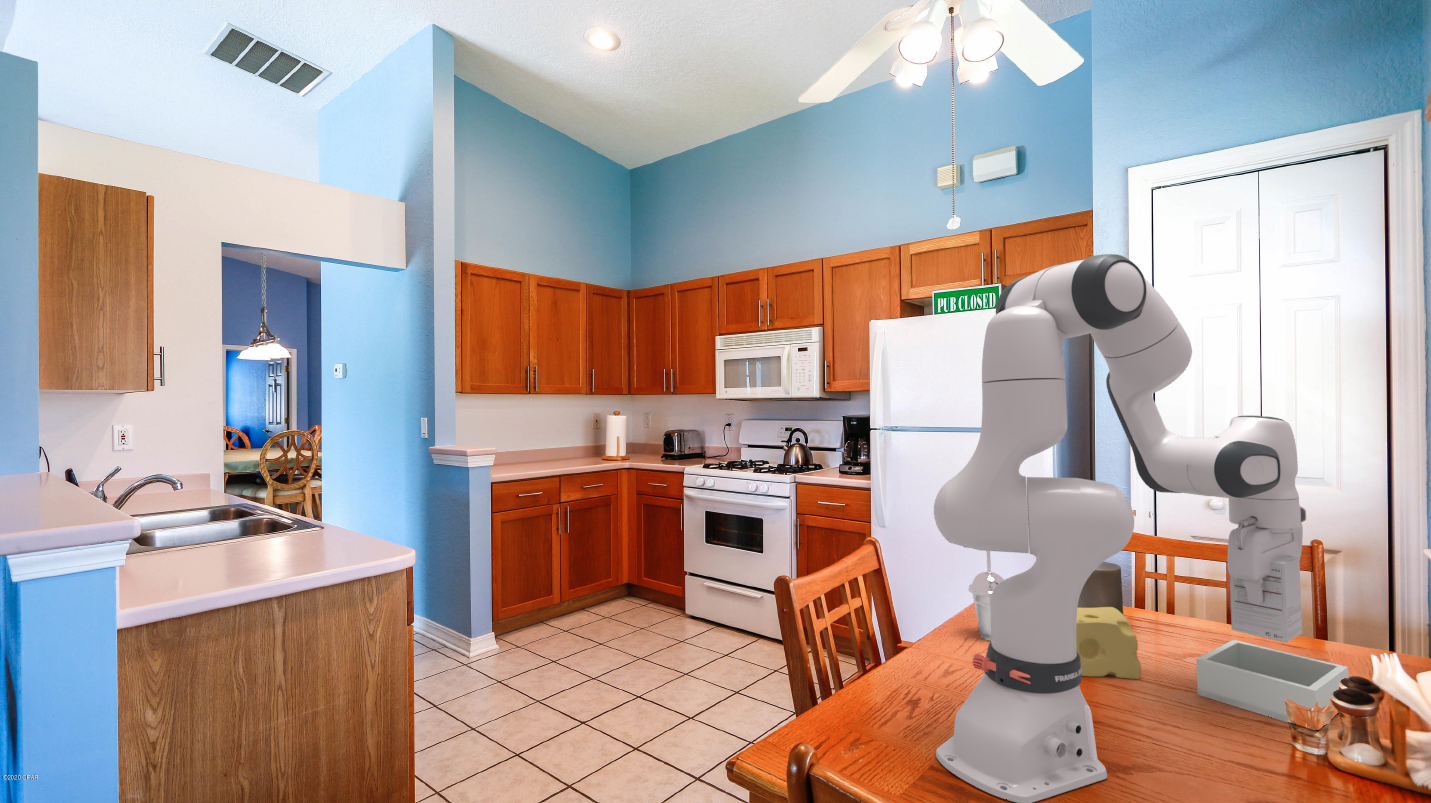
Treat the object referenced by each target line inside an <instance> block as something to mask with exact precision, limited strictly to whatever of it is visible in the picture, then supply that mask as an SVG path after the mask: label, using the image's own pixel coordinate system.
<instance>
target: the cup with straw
mask: <svg viewBox="0 0 1431 803" xmlns="http://www.w3.org/2000/svg"><path fill="white" fill-rule="evenodd" d="M962 547H963V548H965V549H966V548H968V547H964V546H962ZM968 549H969V548H968ZM985 552H986V569H987V570H986V571H983V572H980V573H978V574H976V575H975V577H974V578H973V580H972V582H971V583H970V585H969V586H968V592H969V593H971V594H972V599H973V603H974V606H975V612H976V618H977V625H978V627H977V628H978V631H979V633H980V634H979V637H980V638H981V639H983V640H986V641H990V642H991V620H990V596H991V593H992V591H993V589H994V588H995V587H996V586H997V585H998V584H999V583H1000V582H1002V581H1003V580H1005V579H1004V578H1003V577H1002V576H1001V575H1000V574H998V573H996V572H993V571H992V566H991V565H992V564H991V551H985Z"/></svg>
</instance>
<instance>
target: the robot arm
mask: <svg viewBox="0 0 1431 803" xmlns="http://www.w3.org/2000/svg"><path fill="white" fill-rule="evenodd" d="M1088 334H1090V336H1091V337H1092V340H1093V341H1094V343H1095V345H1096V347H1097V348H1098V350H1099V352H1100V353H1101V355H1102V357H1103V359H1104V361H1105V362H1106V364H1107V366H1108V371H1109V372H1107V375H1106V380H1105V383H1106V384H1105V385H1106V389H1107V393H1108V396H1109V399H1110V401H1111V403H1112V406H1113V408H1114V411H1115V414H1116V416H1117V417H1118V419H1119V422H1120V424H1121V426H1122V427H1121V428H1122V429H1123V431H1124V433H1125V435H1126V437H1127V440H1128V442H1129V445H1130V447H1131V449H1132V450H1131V451H1132V452H1133V458H1134V462H1135V468H1136V471H1137V474H1138V475H1139V477H1140V479H1141V480H1142V481H1143V483H1144V484H1145V485H1146V486H1147V487H1148V488H1150V489H1151V490H1153V491H1155V492H1158V493H1164V494H1165V493H1167V494H1168V493H1171V494H1188V495H1190V494H1191V495H1195V496H1196V495H1197V496H1204V497H1216V498H1225V499H1228V515H1229V516H1228V519H1229V522H1230V523H1231V524H1233V525H1237V527H1236V528H1233V529H1232V530H1230V533H1229V534H1228V541H1227V572H1228V574H1229V577H1230V576H1232V577H1235V578H1240V579H1243V583H1244V585H1245V588H1246V590H1247V598H1248V601H1249V602H1250V603H1254V604H1261V603H1263V602H1264V601H1265V598H1264V597H1265V592H1263V591H1262V586H1261V583H1262V582H1263V580H1262V578H1263V577H1265V576H1267V575H1270V574H1271V561H1273V560H1275V559H1277V558H1280V557H1283V556H1286V555H1290V556H1295V557H1299V561H1300V560H1301V556H1302V552H1303V551H1302V550H1303V537H1304V536H1303V533H1304V531H1303V530H1304V529H1303V523H1304V522H1306V520H1307V510H1306V509H1305V507H1302V506H1301V505H1300V496H1299V492H1298V490H1297V487H1296V478H1297V475H1298V472H1299V471H1298V470H1299V468H1298V466H1299V465H1298V463H1299V462H1298V452H1297V451H1298V450H1297V444H1296V439H1295V435H1294V432H1293V429H1292V426H1291V424H1290V423H1289V422H1288V421H1286V420H1284V419H1282V418H1277V417H1273V416H1263V415H1262V416H1261V415H1238V416H1233V417H1232V418H1231V419H1230V422H1229V426H1228V427H1227V428H1226V429H1225V430H1224V431H1222V432H1220V433H1218V434H1216V435H1213V437H1201V436H1200V437H1198V436H1197V437H1196V436H1195V437H1194V436H1193V437H1192V436H1183V435H1179V434H1176V433H1173V432H1172V431H1170V430H1168V429H1167V428H1166V425H1165V423H1164V421H1163V418H1162V416H1161V414H1160V412H1159V409H1158V407H1157V404H1156V402H1155V400H1154V397H1153V394H1155V393H1157V392H1159V391H1161V390H1163V389H1165V388H1167V387H1168V386H1169V385H1171V384H1172V383H1173V382H1175V381H1176V380H1177V379H1179V377H1180V376H1181V375H1182V374H1183V373H1184V372H1185V371H1186V370H1187V368H1188V366H1189V364H1190V362H1191V359H1192V355H1193V348H1192V344H1191V340H1190V337H1189V336H1188V334H1187V332H1186V330H1185V329H1184V327H1183V326H1182V324H1181V322H1180V321H1179V319H1178V318H1177V316H1176V314H1175V313H1174V312H1173V310H1172V309H1171V307H1170V306H1169V304H1168V303H1167V302H1166V300H1165V299H1164V297H1162V294H1160V293H1159V292H1158V291H1157V290H1156V288H1155V287H1154V286H1153V285H1152V284H1151V283H1150V282H1149V281H1148V280H1147V279H1146V278H1145V276H1144V274H1143V272H1142V271H1141V269H1140V268H1139V267H1138V266H1137V265H1136V263H1134V262H1133V261H1132V260H1130V259H1129V258H1127V257H1125V256H1123V255H1120V254H1117V253H1115V254H1113V253H1109V254H1107V253H1106V254H1105V253H1104V254H1097V255H1092V256H1089V257H1087V258H1085V259H1081V260H1075V261H1072V262H1066V263H1064V264H1055V265H1052V266H1049V267H1046V268H1044V269H1040V270H1038V271H1037V272H1035V273H1032V274H1030V275H1028V276H1027V275H1026V276H1023V277H1020V278H1018V279H1016V280H1014V281H1013V282H1011V283H1010V284H1008V285H1007V286H1006V287H1004V289H1003V290H1002V291H1001V292H1000V295H999V296H998V298H997V302H996V307H995V315H994V316H992V317H991V318H990V320H989V322H987V326H986V329H985V335H984V341H983V348H982V350H983V351H982V360H981V393H982V394H981V396H982V401H981V402H982V404H981V406H982V410H981V411H982V412H981V413H982V414H981V427H980V435H979V438H978V443H977V445H976V448H975V450H974V453H973V454H972V456H971V457H970V459H969V461H968V462H967V463H966V465H965V466H964V467H963V468H962V469H961V470H960V471H959V472H958V473H957V474H956V475H954V476H953V477H952V478H951V479H949V480H948V481H946V482H945V483H944V484H943V485H942V486H941V487H940V489H939V490H938V492H937V494H936V497H935V499H934V503H933V516H934V521H935V525H936V527H937V529H938V530H939V532H940V534H941V535H942V536H943V538H944V539H945V540H946V541H947V542H948V543H950V544H953V545H957V546H961V547H963V546H964V547H963V548H966V547H968V549H973V550H976V551H985V552H986V551H990V552H999V553H1000V552H1003V553H1015V554H1016V553H1019V554H1029V555H1032V556H1034V557H1035V562H1034V563H1033V565H1032V566H1031V567H1030V568H1029V569H1027V570H1025V571H1023V572H1021V573H1017V574H1015V575H1012V576H1010V577H1008V578H1005V579H1004V580H1003V581H1002V582H1000V583H999V584H998V585H997V586H996V587H995V588H994V589H993V591H992V593H991V596H990V620H991V641H990V642H989V643H988V647H987V651H986V652H985V656H983V655H981V654H979V653H975V654H974V656H973V658H972V661H971V662H972V666H973V668H974V669H976V670H981V671H983V672H984V674H983V675H982V677H981V679H980V680H979V682H978V683H977V684H976V686H975V687H974V688H973V690H972V691H971V693H970V694H969V695H968V697H967V698H966V700H965V701H964V703H963V704H962V705H961V707H960V708H959V710H958V711H957V713H956V715H955V719H954V723H953V724H954V725H953V726H954V728H953V735H952V736H951V737H949V738H948V739H947V740H946V741H944V742H943V743H942V744H941V745H940V746H938V747H937V748H936V752H935V757H936V759H937V760H938V761H939V763H940V764H941V765H942V766H943V767H944V768H945V769H947V770H948V771H949V772H951V773H952V774H954V775H955V776H956V777H958V778H960V779H961V780H962V781H964V782H967V783H968V784H970V785H972V786H974V787H975V788H977V789H979V790H982V791H983V792H986V793H988V794H990V795H992V796H995V797H996V798H997V797H998V798H1001V799H1004V800H1006V799H1007V800H1006V801H1009V802H1014V803H1035V802H1039V801H1041V800H1044V799H1048V798H1051V797H1053V796H1057V795H1060V794H1063V793H1066V792H1069V791H1072V790H1076V789H1079V788H1081V787H1082V788H1083V787H1085V786H1088V785H1090V784H1095V783H1097V782H1101V781H1104V780H1106V779H1108V773H1107V768H1106V767H1105V764H1103V763H1102V762H1101V761H1100V760H1099V759H1098V754H1097V753H1098V752H1097V745H1096V738H1095V730H1094V723H1093V715H1092V711H1091V707H1090V706H1089V704H1088V703H1087V700H1086V699H1085V697H1084V694H1083V692H1082V690H1081V686H1080V684H1081V683H1082V681H1083V680H1082V677H1083V676H1081V673H1082V665H1081V661H1080V655H1079V654H1078V652H1077V649H1076V623H1077V607H1078V601H1079V597H1080V594H1081V591H1082V588H1083V586H1084V584H1085V583H1086V581H1087V579H1088V578H1089V576H1090V575H1091V574H1092V572H1093V571H1094V570H1095V569H1096V568H1097V567H1098V566H1099V565H1100V564H1102V563H1103V562H1106V561H1108V559H1110V558H1112V557H1113V556H1115V555H1117V554H1119V553H1120V552H1121V551H1122V550H1123V549H1124V548H1126V546H1127V545H1128V543H1129V542H1130V540H1131V539H1132V536H1133V533H1134V529H1135V516H1134V511H1133V508H1132V505H1131V503H1130V501H1129V500H1128V498H1127V497H1126V496H1125V494H1124V493H1123V491H1121V489H1119V488H1118V487H1117V486H1115V484H1112V483H1106V482H1101V481H1096V480H1093V479H1092V480H1091V479H1086V478H1085V479H1084V478H1079V477H1043V476H1042V477H1040V476H1039V477H1036V476H1034V477H1033V476H1027V477H1026V475H1022V474H1021V473H1020V469H1021V468H1020V467H1021V466H1022V464H1023V462H1024V461H1025V460H1027V459H1029V458H1031V457H1034V456H1035V455H1038V454H1041V453H1042V452H1044V451H1046V450H1048V449H1050V448H1052V447H1053V446H1056V444H1059V443H1060V442H1061V440H1063V438H1065V435H1066V434H1067V430H1068V408H1067V406H1068V404H1067V386H1066V385H1067V383H1066V379H1067V378H1066V367H1065V359H1064V358H1065V357H1064V352H1063V346H1064V344H1065V343H1064V342H1065V340H1066V339H1071V338H1076V337H1080V336H1083V335H1088Z"/></svg>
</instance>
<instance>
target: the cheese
mask: <svg viewBox="0 0 1431 803" xmlns="http://www.w3.org/2000/svg"><path fill="white" fill-rule="evenodd" d="M1132 628H1133V627H1132V625H1131V622H1130V621H1129V619H1128V618H1127V617H1126V616H1125V615H1124V613H1123V614H1122V613H1121V612H1120V611H1119V610H1117V609H1116V608H1114V607H1098V608H1077V623H1076V649H1077V652H1078V654H1079V655H1080V661H1081V665H1082V673H1081V676H1082V677H1106V676H1109V675H1110V676H1114V677H1116V678H1117V679H1128V680H1130V679H1131V680H1140V677H1141V673H1142V672H1141V671H1142V670H1141V668H1142V667H1141V663H1140V662H1141V661H1140V660H1139V658H1138V651H1139V650H1138V649H1139V644H1138V640H1137V636H1136V634H1135V633H1134V631H1133V629H1132Z"/></svg>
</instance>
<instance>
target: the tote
mask: <svg viewBox="0 0 1431 803" xmlns="http://www.w3.org/2000/svg"><path fill="white" fill-rule="evenodd" d="M1195 661H1196V662H1195V663H1196V680H1197V681H1196V683H1197V684H1196V685H1197V686H1196V687H1197V696H1200V697H1204V698H1206V699H1207V698H1208V699H1209V700H1210V699H1211V700H1213V701H1217V702H1220V703H1223V704H1226V705H1230V706H1232V707H1236V708H1239V709H1243V710H1245V711H1249V712H1252V713H1255V714H1258V715H1262V716H1265V717H1268V716H1269V717H1268V718H1271V717H1272V718H1271V719H1275V720H1278V721H1282V722H1285V723H1288V716H1287V712H1286V705H1285V700H1286V699H1288V700H1291V701H1293V702H1295V703H1297V704H1299V705H1301V706H1305V707H1307V708H1314V706H1315V704H1316V702H1318V706H1319V707H1320V708H1323V707H1325V706H1330V695H1331V694H1332V693H1333V692H1334V691H1336V690H1338V689H1339V682H1340V681H1341V680H1342V679H1344V678H1349V667H1348V666H1345V665H1341V664H1337V663H1333V662H1328V661H1326V660H1325V661H1324V660H1321V659H1317V658H1312V657H1307V656H1303V655H1299V654H1295V653H1291V652H1287V651H1286V652H1285V651H1282V650H1278V649H1275V648H1274V649H1273V648H1270V647H1267V646H1266V647H1265V646H1261V645H1257V644H1252V643H1249V642H1244V641H1241V640H1236V639H1232V640H1231V641H1228V642H1226V643H1224V644H1223V645H1220V646H1218V647H1217V648H1215V649H1213V650H1211V651H1209V652H1207V653H1205V654H1202V655H1201V656H1199V657H1197V658H1196V659H1195ZM1288 724H1289V723H1288Z"/></svg>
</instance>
